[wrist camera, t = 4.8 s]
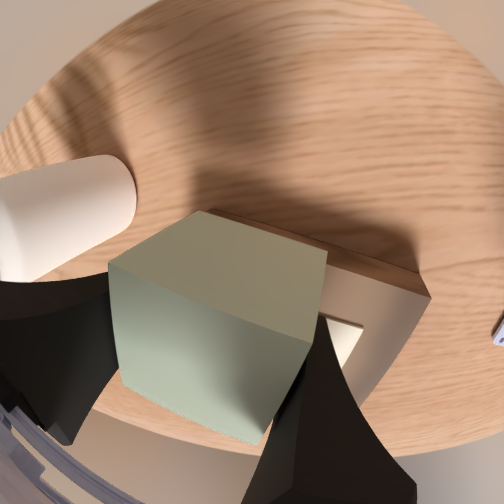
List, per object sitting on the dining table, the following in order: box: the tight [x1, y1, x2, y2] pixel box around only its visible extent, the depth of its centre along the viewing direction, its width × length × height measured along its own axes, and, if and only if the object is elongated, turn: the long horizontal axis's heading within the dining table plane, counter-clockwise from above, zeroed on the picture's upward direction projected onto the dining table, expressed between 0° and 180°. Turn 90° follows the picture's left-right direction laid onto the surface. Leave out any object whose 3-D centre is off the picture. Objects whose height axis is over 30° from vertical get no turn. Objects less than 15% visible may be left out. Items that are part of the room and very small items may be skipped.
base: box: [206, 209, 432, 407], centre depth 18 cm, size 14×14×3 cm
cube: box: [108, 210, 328, 446], centre depth 9 cm, size 5×5×5 cm
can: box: [0, 155, 137, 282], centre depth 15 cm, size 6×6×12 cm
